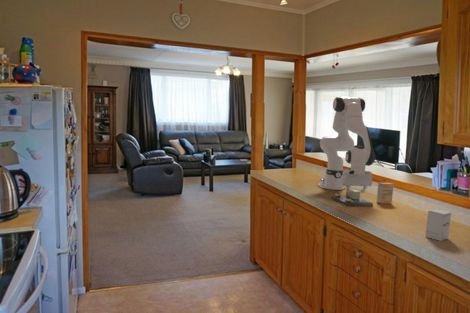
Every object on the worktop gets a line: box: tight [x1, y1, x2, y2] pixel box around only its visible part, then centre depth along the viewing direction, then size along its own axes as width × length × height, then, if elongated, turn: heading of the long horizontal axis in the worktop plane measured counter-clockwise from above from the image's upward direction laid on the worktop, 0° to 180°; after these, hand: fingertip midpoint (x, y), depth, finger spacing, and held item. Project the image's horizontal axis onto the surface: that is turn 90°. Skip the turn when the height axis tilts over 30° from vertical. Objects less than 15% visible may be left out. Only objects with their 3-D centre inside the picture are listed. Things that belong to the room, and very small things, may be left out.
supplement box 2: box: [425, 208, 452, 242], centre depth 180 cm, size 7×7×13 cm
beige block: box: [345, 188, 355, 198], centre depth 254 cm, size 4×4×5 cm
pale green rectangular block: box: [351, 189, 361, 199], centre depth 248 cm, size 4×4×5 cm
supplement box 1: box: [376, 182, 395, 205], centre depth 249 cm, size 8×5×13 cm, turn 105°
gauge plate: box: [330, 192, 374, 207], centre depth 247 cm, size 20×18×4 cm
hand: (355, 192), depth 248 cm, fingers open, 8 cm apart
